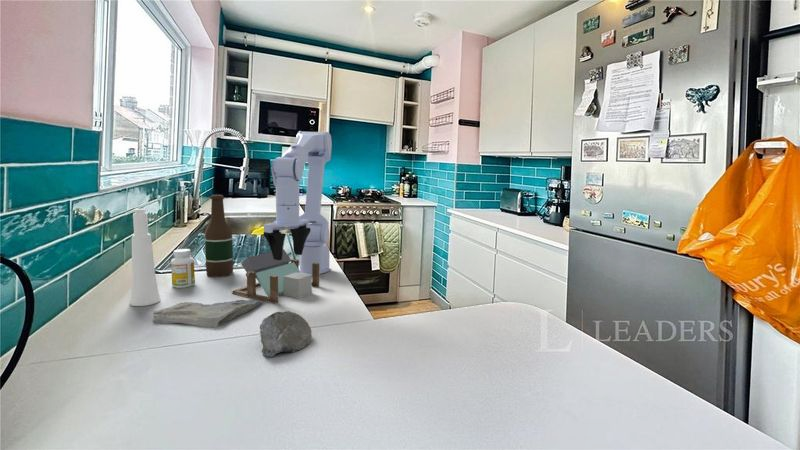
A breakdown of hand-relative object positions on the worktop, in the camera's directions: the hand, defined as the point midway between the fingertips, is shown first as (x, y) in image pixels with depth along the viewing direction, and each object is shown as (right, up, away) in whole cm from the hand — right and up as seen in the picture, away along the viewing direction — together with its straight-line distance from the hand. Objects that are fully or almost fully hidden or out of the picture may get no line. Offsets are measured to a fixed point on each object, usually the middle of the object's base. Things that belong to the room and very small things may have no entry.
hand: (288, 256), depth 99 cm
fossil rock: (-13, -12, -15) cm, 23 cm away
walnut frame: (-4, -9, +3) cm, 10 cm away
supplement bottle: (-30, -8, +4) cm, 31 cm away
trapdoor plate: (-5, -6, +3) cm, 8 cm away
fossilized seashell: (+7, -14, -28) cm, 32 cm away
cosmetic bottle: (-31, -10, -9) cm, 34 cm away
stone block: (0, -7, +1) cm, 7 cm away
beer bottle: (-26, -7, +17) cm, 31 cm away
